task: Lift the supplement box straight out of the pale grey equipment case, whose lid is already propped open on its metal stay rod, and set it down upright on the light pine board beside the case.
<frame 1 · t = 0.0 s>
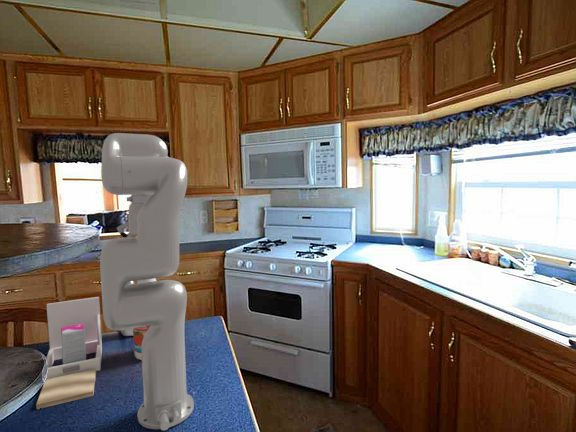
hand: (146, 249, 119), 31 cm above the kitchen island counter, tool pointing down, fingers open, 9 cm apart
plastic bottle: (131, 335, 124), on the kitchen island counter
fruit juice: (150, 354, 110), on the kitchen island counter
pine board: (68, 389, 91), on the kitchen island counter
equipment case: (74, 364, 104), on the kitchen island counter
supplement box: (74, 365, 104), resting in equipment case
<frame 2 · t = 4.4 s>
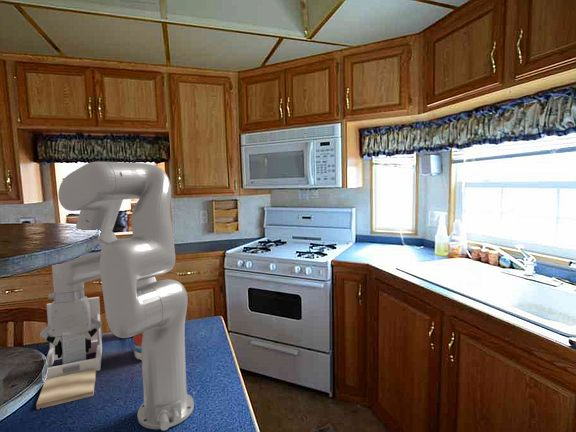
hand: (73, 353, 103), 4 cm above the kitchen island counter, tool pointing down, fingers closed on supplement box, 6 cm apart
supplement box: (74, 365, 104), resting in equipment case, touching gripper
everything else where it was.
when the fingers open (6 cm above the kitchen island counter, at t = 11.8 s): supplement box stays where it is, resting on pine board.
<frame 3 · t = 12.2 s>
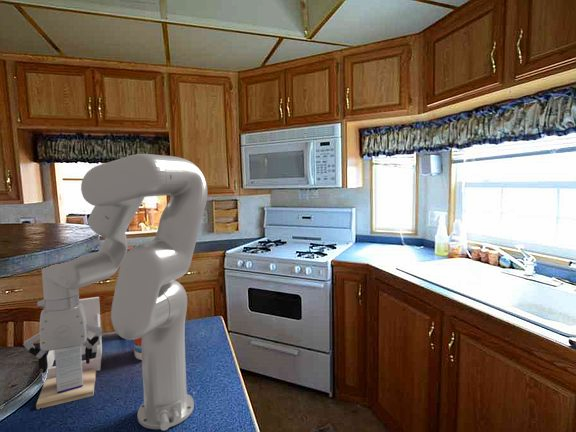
hand: (67, 365, 91), 7 cm above the kitchen island counter, tool pointing down, fingers open, 9 cm apart
supplement box: (70, 385, 91), point 1 cm above the kitchen island counter, touching pine board
everything else where it was.
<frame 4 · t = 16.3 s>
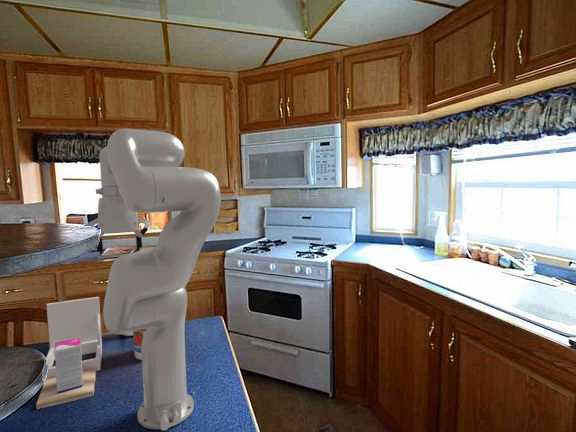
hand: (120, 251, 100), 34 cm above the kitchen island counter, tool pointing down, fingers open, 9 cm apart
nothing on the kitchen island counter moved.
at the end: supplement box inside the target area on the pine board (0.4 cm from its centre), point 1.0 cm above the pine board's base; supplement box tilted 0°; the gripper is holding nothing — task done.
